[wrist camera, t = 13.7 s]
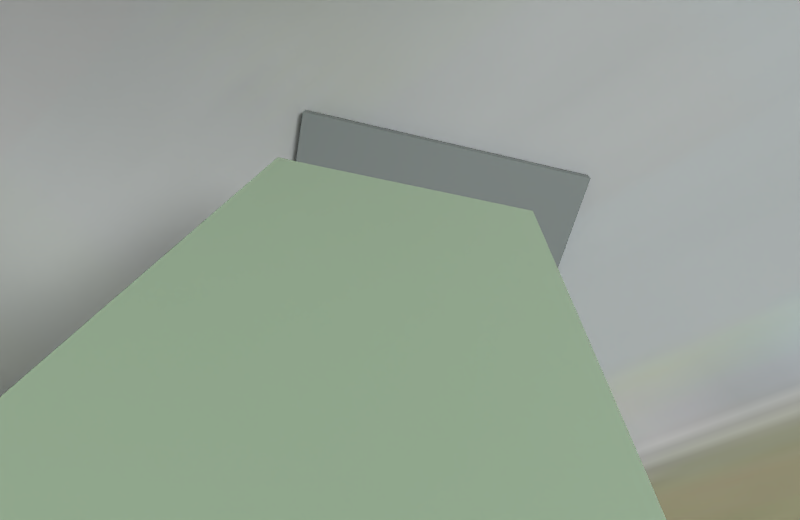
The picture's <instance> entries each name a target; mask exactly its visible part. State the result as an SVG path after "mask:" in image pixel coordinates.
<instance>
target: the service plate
mask: <svg viewBox="0 0 800 520" xmlns="http://www.w3.org/2000/svg"><path fill="white" fill-rule="evenodd" d="M296 161H297V162H302V163H307V164H311V165H316V166H321V167H326V168H331V169H335V170H340V171H345V172H350V173H354V174H359V175H364V176H369V177H374V178H378V179H383V180H388V181H393V182H397V183H402V184H407V185H412V186H417V187H421V188H426V189H431V190H436V191H440V192H445V193H450V194H455V195H460V196H464V197H469V198H474V199H479V200H483V201H488V202H493V203H498V204H503V205H507V206H512V207H517V208H522V209H526V210H531V211H533V212H534V215H535V217H536V219H537V222H538V224H539V226H540V228H541V231H542V233H543V235H544V238H545V240H546V242H547V245H548V247H549V249H550V252H551V254H552V256H553V259H554V261H555V263H556V266H557V268H558V266H559V263H560V260H561V258H562V255H563V252H564V249H565V247H566V244H567V241H568V238H569V236H570V233H571V230H572V227H573V225H574V222H575V219H576V216H577V214H578V211H579V208H580V205H581V203H582V200H583V197H584V194H585V192H586V189H587V186H588V183H589V181H590V177H589V176H588V175H585V174H580V173H576V172H572V171H567V170H563V169H559V168H554V167H550V166H546V165H541V164H537V163H533V162H528V161H524V160H520V159H515V158H511V157H507V156H502V155H498V154H494V153H489V152H485V151H481V150H476V149H472V148H468V147H463V146H459V145H455V144H450V143H446V142H442V141H438V140H433V139H429V138H425V137H420V136H416V135H412V134H407V133H403V132H399V131H394V130H390V129H386V128H381V127H377V126H373V125H368V124H364V123H360V122H355V121H351V120H347V119H342V118H338V117H334V116H329V115H325V114H321V113H316V112H312V111H308V110H305V111H304V112H303V115H302V122H301V129H300V136H299V143H298V150H297V157H296Z"/></svg>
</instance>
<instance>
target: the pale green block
mask: <svg viewBox="0 0 800 520" xmlns="http://www.w3.org/2000/svg"><path fill="white" fill-rule="evenodd" d="M0 520H666V518H665V516H664V513H663V511H662V509H661V506H660V504H659V502H658V499H657V497H656V495H655V492H654V490H653V488H652V485H651V483H650V481H649V479H648V476H647V474H646V472H645V469H644V467H643V465H642V462H641V460H640V458H639V455H638V453H637V451H636V448H635V446H634V444H633V441H632V439H631V437H630V435H629V432H628V430H627V428H626V425H625V423H624V421H623V418H622V416H621V414H620V411H619V409H618V407H617V404H616V402H615V400H614V397H613V395H612V393H611V391H610V388H609V386H608V384H607V381H606V379H605V377H604V374H603V372H602V370H601V367H600V365H599V363H598V360H597V358H596V356H595V354H594V351H593V349H592V347H591V344H590V342H589V340H588V337H587V335H586V333H585V330H584V328H583V326H582V323H581V321H580V319H579V316H578V314H577V312H576V310H575V307H574V305H573V303H572V300H571V298H570V296H569V293H568V291H567V289H566V286H565V284H564V282H563V279H562V277H561V275H560V272H559V270H558V268H557V266H556V263H555V261H554V259H553V256H552V254H551V252H550V249H549V247H548V245H547V242H546V240H545V238H544V235H543V233H542V231H541V228H540V226H539V224H538V222H537V219H536V217H535V215H534V212H533V211H531V210H526V209H522V208H517V207H512V206H507V205H503V204H498V203H493V202H488V201H483V200H479V199H474V198H469V197H464V196H460V195H455V194H450V193H445V192H440V191H436V190H431V189H426V188H421V187H417V186H412V185H407V184H402V183H397V182H393V181H388V180H383V179H378V178H374V177H369V176H364V175H359V174H354V173H350V172H345V171H340V170H335V169H331V168H326V167H321V166H316V165H311V164H307V163H302V162H297V161H292V160H288V159H283V158H276V159H275V160H274V161H273V162H272V163H271V164H270V165H268V166H267V167H266V168H265V169H264V170H263V171H261V172H260V173H259V174H258V175H257V176H256V177H254V178H253V179H252V180H251V181H250V182H249V183H248V184H246V185H245V186H244V187H243V188H242V189H241V190H239V191H238V192H237V193H236V194H235V195H234V196H232V197H231V198H230V199H229V200H228V201H227V202H226V203H224V204H223V205H222V206H221V207H220V208H219V209H217V210H216V211H215V212H214V213H213V214H212V215H210V216H209V217H208V218H207V219H206V220H205V221H203V222H202V223H201V224H200V225H199V226H198V227H197V228H195V229H194V230H193V231H192V232H191V233H190V234H188V235H187V236H186V237H185V238H184V239H183V240H181V241H180V242H179V243H178V244H177V245H176V246H175V247H173V248H172V249H171V250H170V251H169V252H168V253H166V254H165V255H164V256H163V257H162V258H161V259H159V260H158V261H157V262H156V263H155V264H154V265H153V266H151V267H150V268H149V269H148V270H147V271H146V272H144V273H143V274H142V275H141V276H140V277H139V278H137V279H136V280H135V281H134V282H133V283H132V284H130V285H129V286H128V287H127V288H126V289H125V290H124V291H122V292H121V293H120V294H119V295H118V296H117V297H115V298H114V299H113V300H112V301H111V302H110V303H108V304H107V305H106V306H105V307H104V308H103V309H102V310H100V311H99V312H98V313H97V314H96V315H95V316H93V317H92V318H91V319H90V320H89V321H88V322H86V323H85V324H84V325H83V326H82V327H81V328H80V329H78V330H77V331H76V332H75V333H74V334H73V335H71V336H70V337H69V338H68V339H67V340H66V341H64V342H63V343H62V344H61V345H60V346H59V347H57V348H56V349H55V350H54V351H53V352H52V353H51V354H49V355H48V356H47V357H46V358H45V359H44V360H42V361H41V362H40V363H39V364H38V365H37V366H35V367H34V368H33V369H32V370H31V371H30V372H29V373H27V374H26V375H25V376H24V377H23V378H22V379H20V380H19V381H18V382H17V383H16V384H15V385H13V386H12V387H11V388H10V389H9V390H8V391H7V392H5V393H4V394H3V395H2V396H1V397H0Z"/></svg>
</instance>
